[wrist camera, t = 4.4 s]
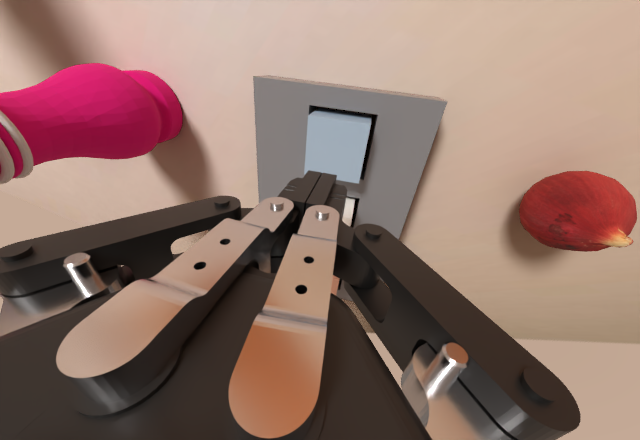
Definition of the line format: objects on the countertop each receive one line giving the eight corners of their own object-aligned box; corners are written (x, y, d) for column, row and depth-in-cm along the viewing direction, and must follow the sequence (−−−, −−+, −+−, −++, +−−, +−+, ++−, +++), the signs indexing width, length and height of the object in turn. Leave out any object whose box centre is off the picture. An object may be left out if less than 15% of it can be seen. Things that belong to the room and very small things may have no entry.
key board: (437, 97, 19) (447, 101, 16) (374, 287, 31) (374, 306, 28) (268, 75, 20) (253, 76, 18) (271, 264, 32) (262, 280, 30)
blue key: (371, 115, 20) (371, 124, 16) (361, 166, 22) (358, 183, 19) (319, 107, 20) (307, 115, 17) (314, 158, 22) (304, 174, 19)
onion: (528, 229, 23) (590, 294, 16) (488, 193, 22) (537, 247, 15) (600, 187, 20) (713, 245, 13) (558, 142, 19) (657, 182, 12)
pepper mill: (200, 107, 23) (-260, 206, 6) (172, 158, 27) (-168, 305, 10) (131, 43, 21) (-760, -49, 5) (111, 107, 25) (-426, 185, 8)
